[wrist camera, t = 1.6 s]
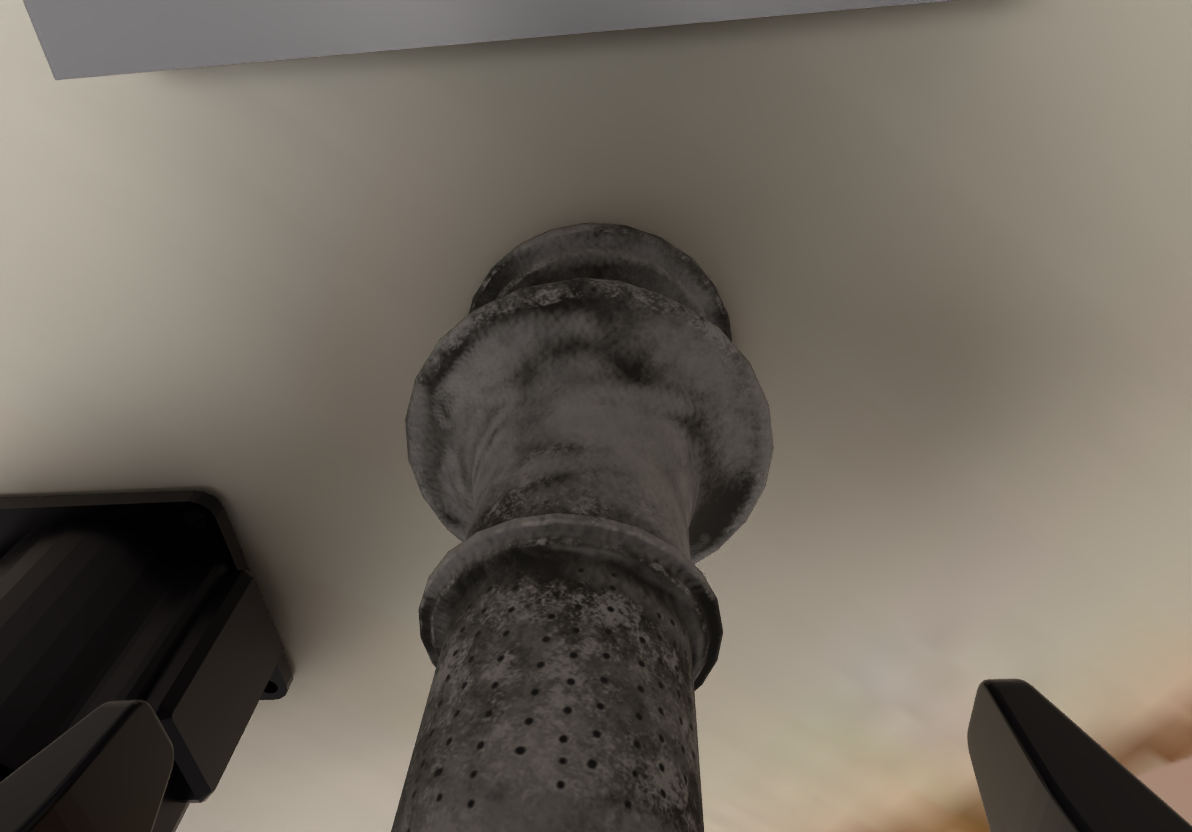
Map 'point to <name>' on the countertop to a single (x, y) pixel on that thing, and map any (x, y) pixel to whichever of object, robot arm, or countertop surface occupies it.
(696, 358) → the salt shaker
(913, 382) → the countertop surface
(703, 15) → the charcoal tray
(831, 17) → the countertop surface
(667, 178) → the countertop surface
